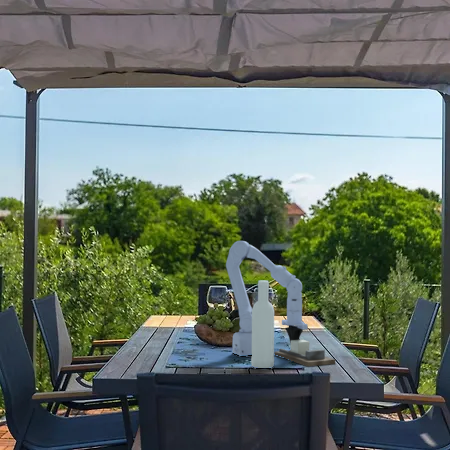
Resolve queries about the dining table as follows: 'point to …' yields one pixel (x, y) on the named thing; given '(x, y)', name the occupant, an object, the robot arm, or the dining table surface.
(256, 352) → the bottle
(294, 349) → the pale grey cube
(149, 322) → the dining table surface
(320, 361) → the rail board
